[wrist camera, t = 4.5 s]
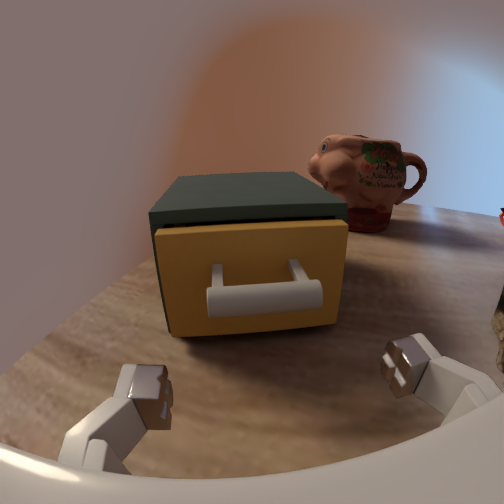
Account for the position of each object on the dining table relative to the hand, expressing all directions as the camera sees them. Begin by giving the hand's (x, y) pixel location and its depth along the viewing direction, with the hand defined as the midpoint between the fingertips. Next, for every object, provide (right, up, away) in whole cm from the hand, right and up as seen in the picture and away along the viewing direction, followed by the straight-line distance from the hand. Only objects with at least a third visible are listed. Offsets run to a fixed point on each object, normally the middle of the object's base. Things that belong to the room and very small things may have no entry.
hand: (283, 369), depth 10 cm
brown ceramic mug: (+17, +9, +35) cm, 40 cm away
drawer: (-1, 0, +14) cm, 14 cm away
